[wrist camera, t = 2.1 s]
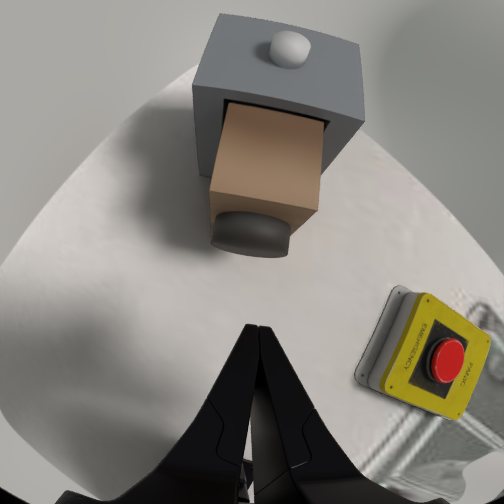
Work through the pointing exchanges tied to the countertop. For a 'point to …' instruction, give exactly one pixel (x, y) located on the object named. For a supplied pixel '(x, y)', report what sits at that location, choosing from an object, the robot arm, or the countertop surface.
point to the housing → (277, 81)
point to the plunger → (264, 180)
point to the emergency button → (424, 354)
